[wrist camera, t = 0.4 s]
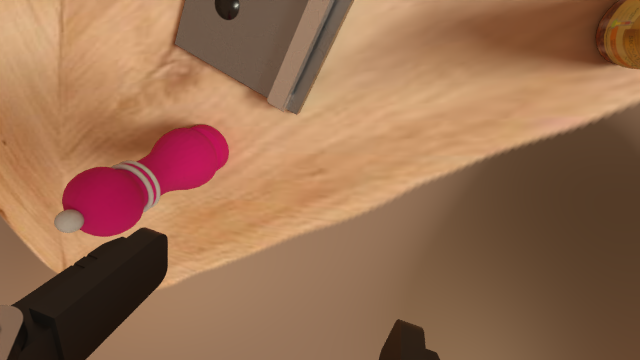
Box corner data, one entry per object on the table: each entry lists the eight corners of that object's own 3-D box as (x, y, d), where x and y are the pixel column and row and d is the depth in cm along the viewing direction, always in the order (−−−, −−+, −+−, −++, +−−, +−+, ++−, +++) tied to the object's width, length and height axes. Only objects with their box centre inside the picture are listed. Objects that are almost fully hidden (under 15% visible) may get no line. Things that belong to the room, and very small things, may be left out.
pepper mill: (215, 183, 42) (84, 282, 24) (174, 148, 42) (7, 224, 24) (242, 146, 39) (114, 230, 21) (198, 108, 38) (27, 161, 20)
